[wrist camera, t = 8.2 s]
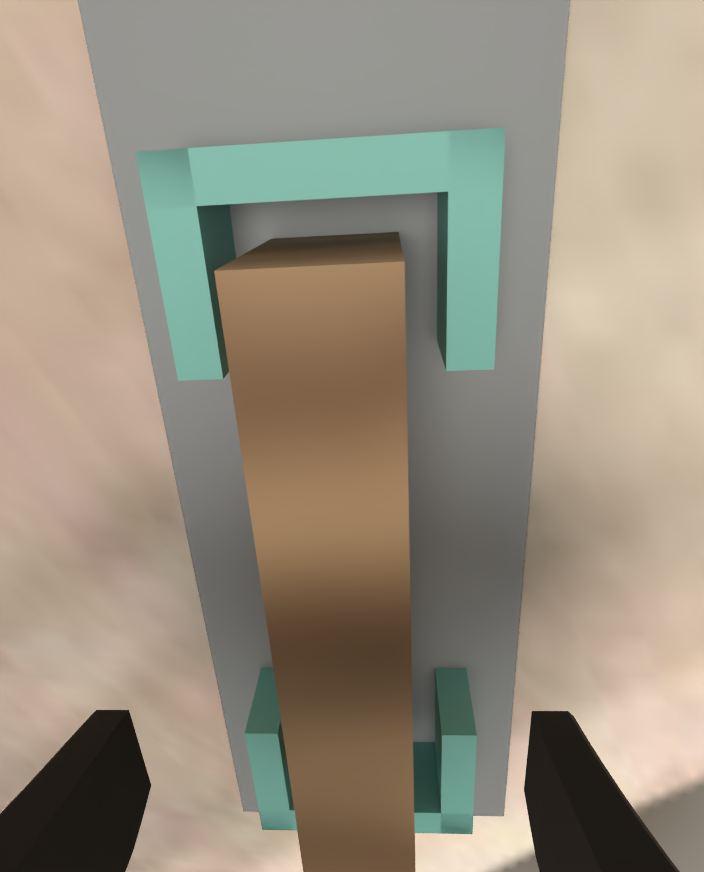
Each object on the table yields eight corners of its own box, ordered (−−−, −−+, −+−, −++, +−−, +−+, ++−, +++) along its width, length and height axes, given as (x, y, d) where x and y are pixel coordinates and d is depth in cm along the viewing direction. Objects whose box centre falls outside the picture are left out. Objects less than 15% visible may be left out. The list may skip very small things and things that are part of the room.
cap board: (499, 790, 23) (517, 890, 20) (249, 786, 24) (227, 882, 20) (559, -28, 12) (620, -99, 9) (98, 11, 13) (5, -42, 10)
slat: (408, 719, 20) (415, 879, 16) (322, 718, 20) (304, 876, 16) (398, 231, 13) (404, 261, 9) (271, 238, 14) (214, 270, 9)
